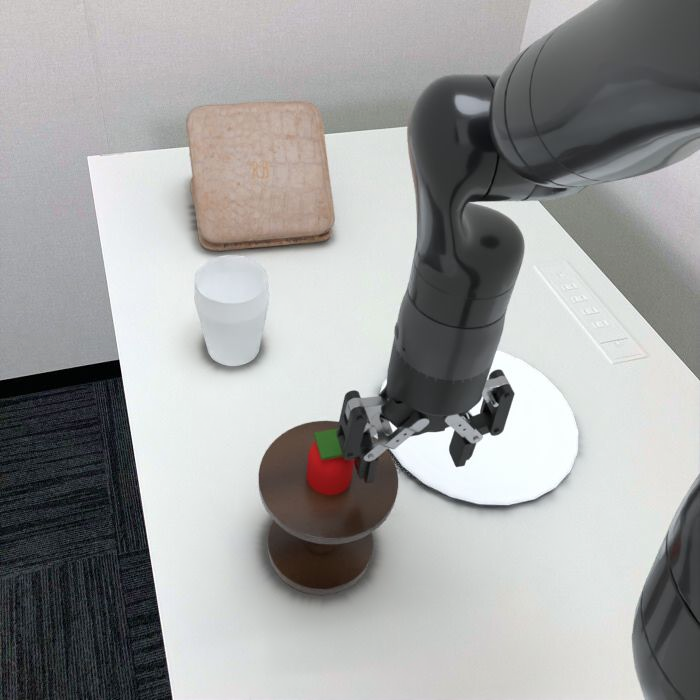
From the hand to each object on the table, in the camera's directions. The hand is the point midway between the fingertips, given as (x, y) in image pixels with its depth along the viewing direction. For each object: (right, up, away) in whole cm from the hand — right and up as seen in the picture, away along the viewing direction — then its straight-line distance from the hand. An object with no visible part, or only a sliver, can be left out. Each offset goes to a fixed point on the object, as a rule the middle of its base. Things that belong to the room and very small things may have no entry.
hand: (412, 466), depth 66 cm
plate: (+10, +1, +26) cm, 28 cm away
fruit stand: (-9, -10, +12) cm, 18 cm away
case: (-20, +32, +51) cm, 64 cm away
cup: (-21, +11, +30) cm, 38 cm away
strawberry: (-8, -1, +2) cm, 8 cm away
